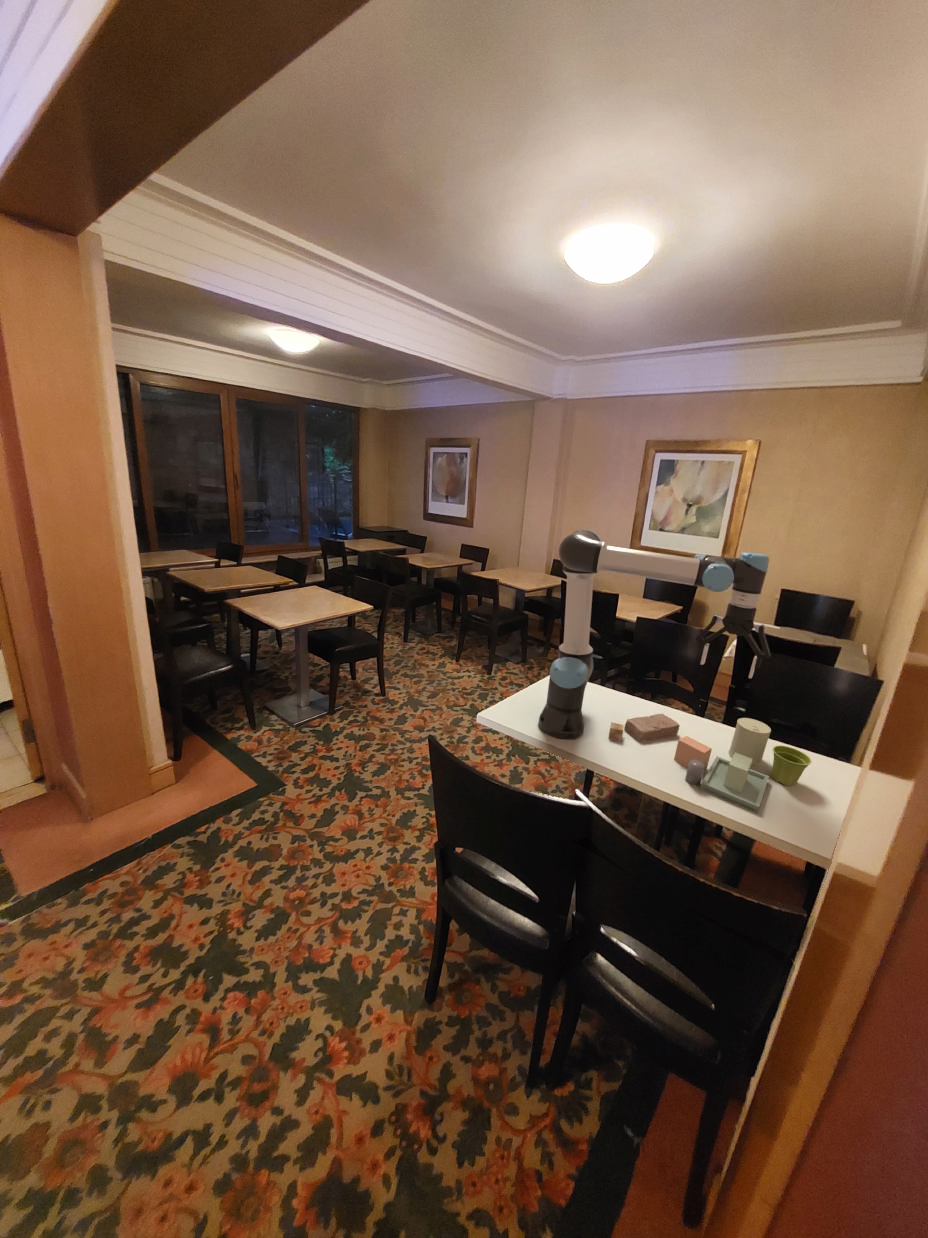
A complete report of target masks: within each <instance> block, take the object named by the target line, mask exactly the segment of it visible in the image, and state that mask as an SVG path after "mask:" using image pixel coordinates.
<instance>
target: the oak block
mask: <svg viewBox="0 0 928 1238" xmlns="http://www.w3.org/2000/svg"><path fill="white" fill-rule="evenodd" d="M624 727H625V724H621V723H618V722H617V723H616V722H613V721H611V722H610V725H609V733H608V739H609V740H610V739H611V740H614V741H619V742H622V740H623V734H624Z"/></svg>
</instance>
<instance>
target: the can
mask: <svg viewBox="0 0 928 1238" xmlns="http://www.w3.org/2000/svg"><path fill="white" fill-rule="evenodd" d="M771 732H772V729H771V727H770V726H768V724H766V723H764V722H763V721H759V720H757V719H753V718H749V717H741V718H738V719H737V721H736V726H735V730H734V734H733V737H732V741H731V744H730V746H729V749H728V754H729V757H731V758H732V757H733V755H734V753H738V754H741V755H743V756H746V757H749V758H751V759H752V763H751V766H750V767H752V766H753V767H756V766H757V767H758V766H760V765H762V763H763V757H764V754H765V750H766V747H767V743H768V741H769V738H770V735H771Z"/></svg>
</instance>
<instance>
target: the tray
mask: <svg viewBox="0 0 928 1238" xmlns="http://www.w3.org/2000/svg"><path fill="white" fill-rule="evenodd" d="M730 762H731V760H727V759H725V758H723V757H720V756H718V755H717V756H715V759H714V760H713V762H712V763H711V766H710V767H709V770H707V772H706V774H705V776H704V777H703V779H702V781H701V783H700V788H699V790H701V791H704V792H706V793H709V794H711V795H713V796H716V797H718V798H721V799H723V800H725V801H727V802H729V803H732V804H734V805H737V806H740V807H741V808H744V809H746V810H749V811H751V812H753V813H756V814H758V812H759V809H760V806H761V803H762V799H763V797H764V794H765V791H766V788H767V785H768V782H769V778H770V776H769V775H767V774H764V773H762V772H759V771H756V770H753V769H751V768H750V769H749V773H748V776H747V780H746V782H745V785H744V787H743V790H742V792H741V793H740V792H738V791H735V790H733V789H731V788H728V787H726V786H723V785H724V781H725V777H726V774H727V770H728V767H729V764H730Z"/></svg>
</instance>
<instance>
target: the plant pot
mask: <svg viewBox="0 0 928 1238" xmlns="http://www.w3.org/2000/svg"><path fill="white" fill-rule="evenodd" d="M772 752H773V761H772V762H773V763H772V769H771V778H772V779H773V780H775V781H776V782H778V783H781V784H783V785H785V786H789V787H794V786H796V784H797V783H798V782H799V779H800V777H802V774H803V773H804V771H805V769H806V768H808V766H809V765H811V763H812V762H813V761H812V759H811V758H810V756H808V755H807V754H806V753H804V752H803V751H801V750H799V749H796V748H794V747H790V746H787V745H781V744H780V745H779V744H778V745H774V746H773V747H772Z"/></svg>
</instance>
